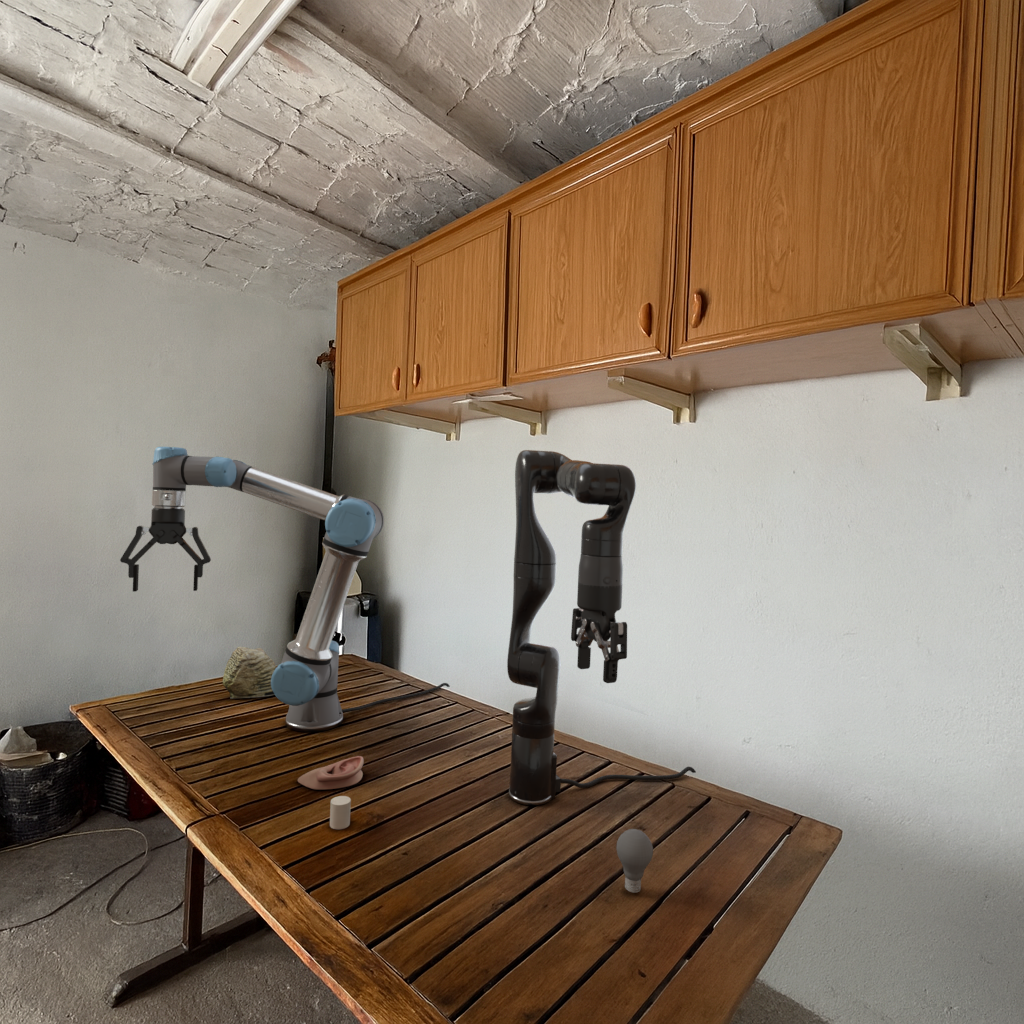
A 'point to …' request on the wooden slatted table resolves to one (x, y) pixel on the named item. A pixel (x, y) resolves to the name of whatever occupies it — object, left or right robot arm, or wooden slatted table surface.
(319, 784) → the anatomical model
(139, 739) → the wooden slatted table surface
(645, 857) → the light bulb
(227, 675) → the fossil
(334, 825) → the canister
